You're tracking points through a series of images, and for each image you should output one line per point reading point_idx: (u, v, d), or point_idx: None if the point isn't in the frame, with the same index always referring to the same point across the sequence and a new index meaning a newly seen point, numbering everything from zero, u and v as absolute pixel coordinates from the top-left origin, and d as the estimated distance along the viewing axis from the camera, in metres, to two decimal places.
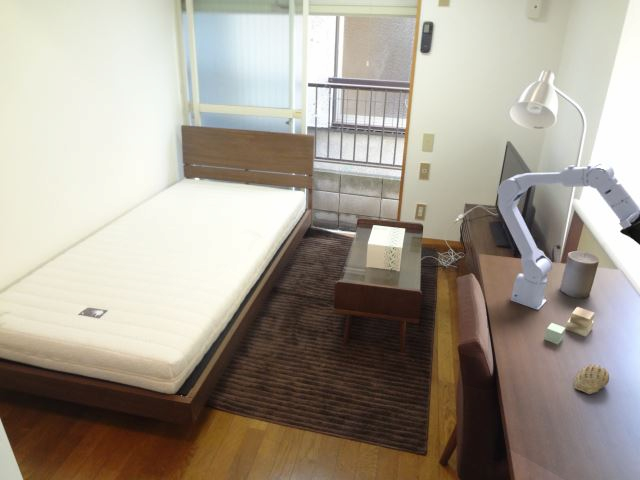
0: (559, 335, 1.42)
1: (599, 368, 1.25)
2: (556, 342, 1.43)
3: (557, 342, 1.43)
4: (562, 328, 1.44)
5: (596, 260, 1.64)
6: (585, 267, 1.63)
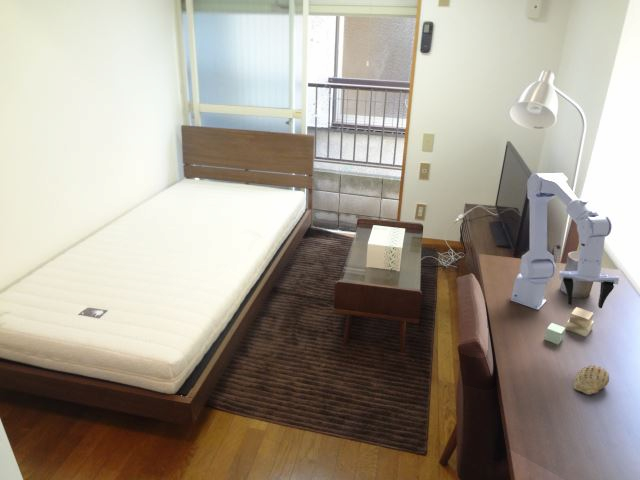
0: (559, 335, 1.42)
1: (599, 369, 1.25)
2: (556, 342, 1.43)
3: (557, 342, 1.43)
4: (562, 328, 1.44)
5: None
6: None
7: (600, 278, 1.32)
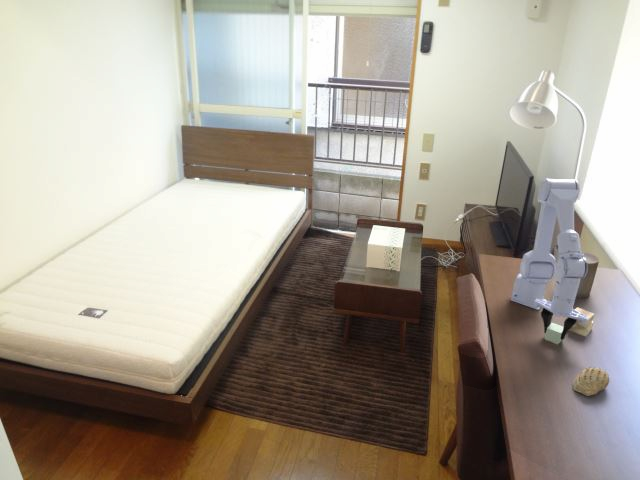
0: (559, 335, 1.42)
1: (599, 370, 1.24)
2: (556, 342, 1.43)
3: (557, 342, 1.43)
4: (562, 328, 1.44)
5: (596, 260, 1.64)
6: None
7: (568, 315, 1.38)
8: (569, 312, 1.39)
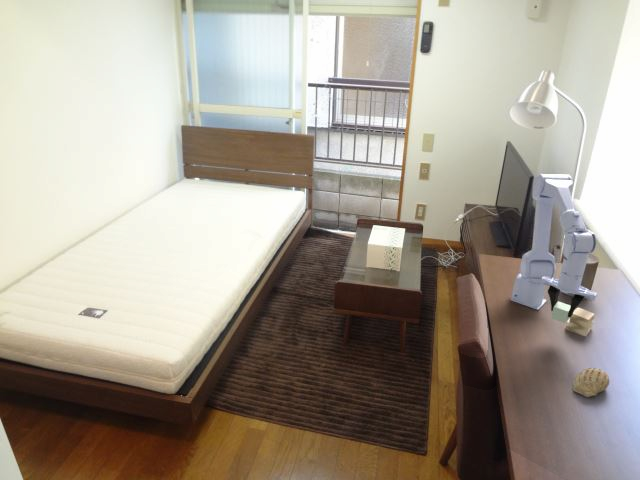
0: (566, 313, 1.39)
1: (599, 371, 1.24)
2: (562, 320, 1.40)
3: (564, 320, 1.40)
4: (569, 306, 1.41)
5: (596, 260, 1.64)
6: (585, 267, 1.63)
7: (575, 292, 1.35)
8: (577, 289, 1.36)
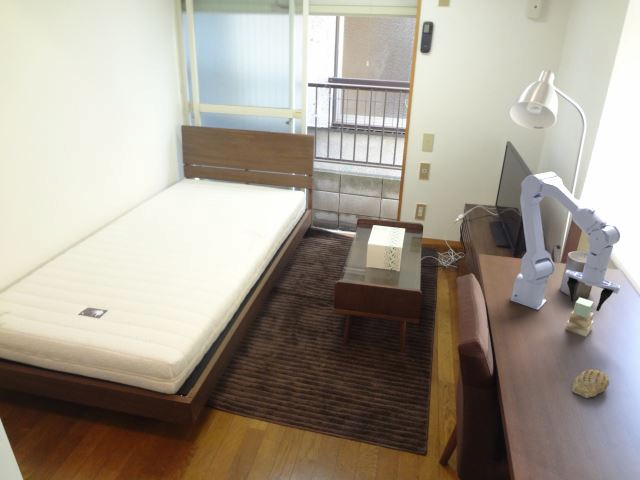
0: (588, 308, 1.44)
1: (598, 372, 1.23)
2: (584, 316, 1.46)
3: (586, 316, 1.45)
4: (590, 302, 1.46)
5: None
6: None
7: (600, 285, 1.40)
8: (601, 281, 1.41)
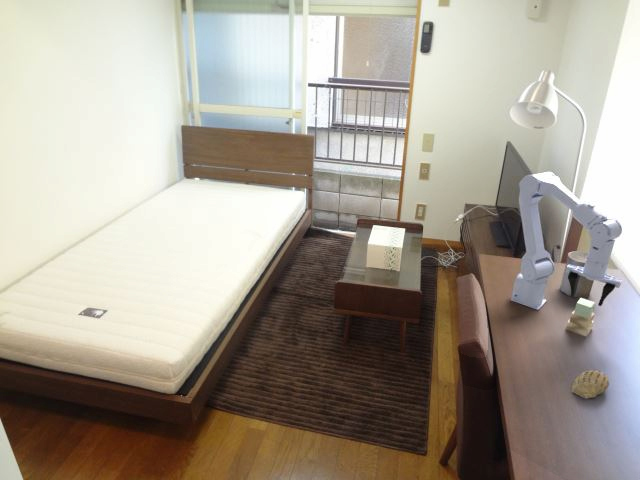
0: (589, 309, 1.44)
1: (598, 373, 1.23)
2: (585, 316, 1.46)
3: (587, 316, 1.45)
4: (591, 302, 1.46)
5: None
6: None
7: (601, 279, 1.40)
8: (602, 276, 1.40)
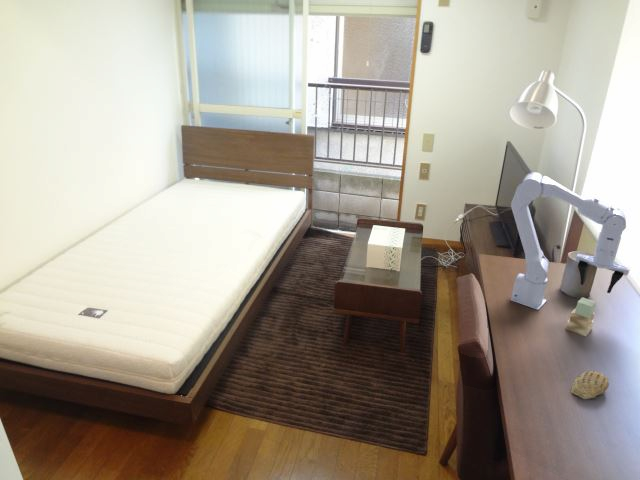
0: (590, 308, 1.44)
1: (598, 374, 1.23)
2: (586, 315, 1.46)
3: (587, 315, 1.45)
4: (593, 302, 1.46)
5: None
6: None
7: (610, 267, 1.46)
8: (611, 264, 1.47)
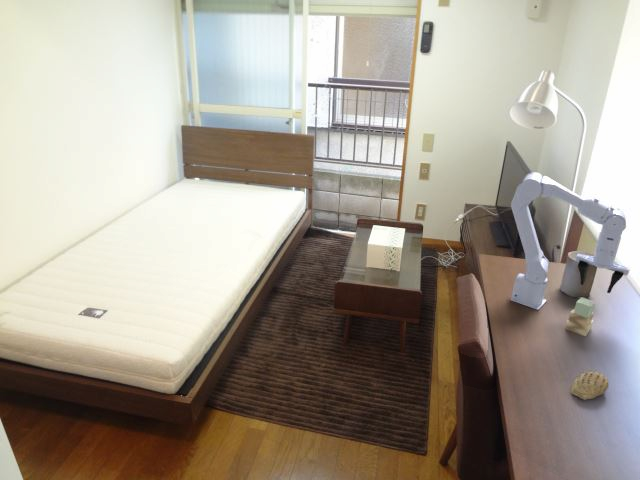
0: (588, 308, 1.44)
1: (598, 375, 1.22)
2: (585, 315, 1.46)
3: (586, 315, 1.45)
4: (592, 302, 1.46)
5: None
6: None
7: (610, 267, 1.46)
8: (611, 264, 1.47)
